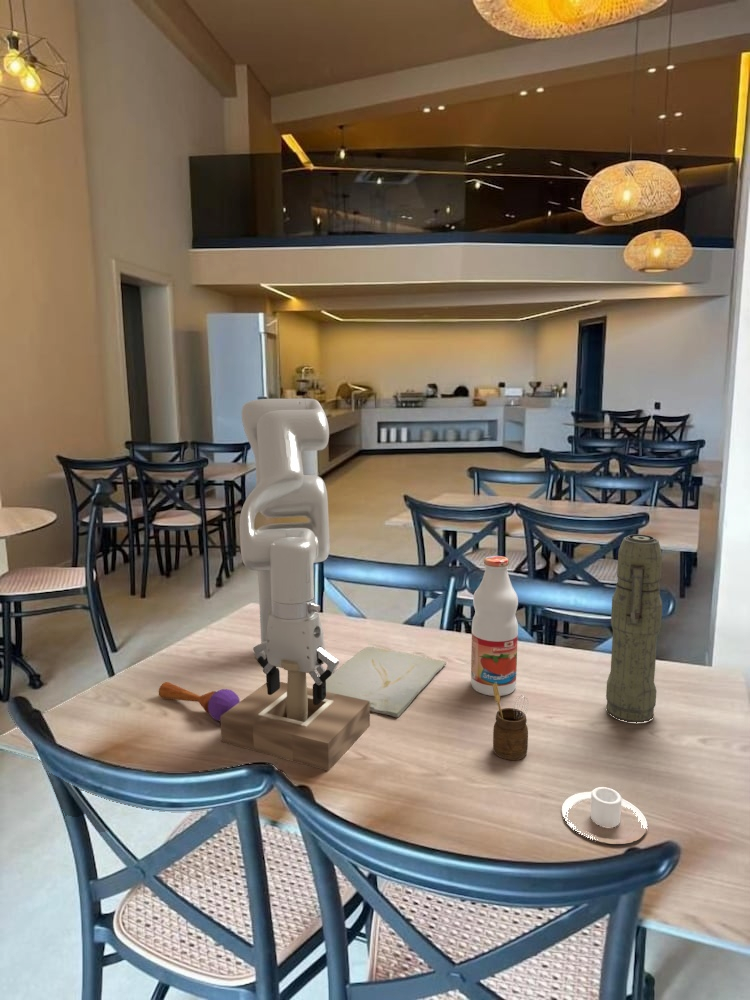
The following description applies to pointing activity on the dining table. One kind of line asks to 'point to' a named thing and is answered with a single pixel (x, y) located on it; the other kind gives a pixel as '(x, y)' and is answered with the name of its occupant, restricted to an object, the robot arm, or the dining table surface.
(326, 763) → the brown flat block
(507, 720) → the utensil holder
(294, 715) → the handle
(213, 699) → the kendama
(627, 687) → the thermos
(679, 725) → the dining table surface
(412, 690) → the decorative slab
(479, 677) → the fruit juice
